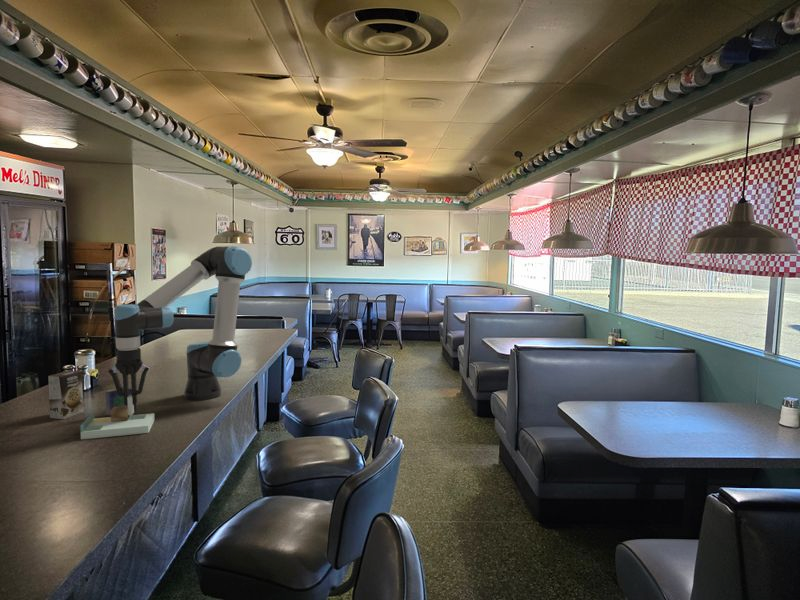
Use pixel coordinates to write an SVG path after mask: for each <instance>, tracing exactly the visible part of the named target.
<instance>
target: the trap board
mask: <svg viewBox="0 0 800 600" xmlns="http://www.w3.org/2000/svg"><path fill="white" fill-rule="evenodd" d="M155 420H156V419H155V413H153V412H152V413H142V414H133V415H130V417H129V419H128V420H127V421H120V422H111V416H107V417H97V418H95V413H94V412H91V413H90V415H89V416H88V417H87V418H86V419H85V421H83V422H82V423H81V424H80V426H79V427H80V440H91V439H97V438H98V439H99V438H109V437H120V436H129V435H139V434H141V435H142V434H149V433H150V431H151V428H152V427H153V424H154V423H155Z"/></svg>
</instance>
